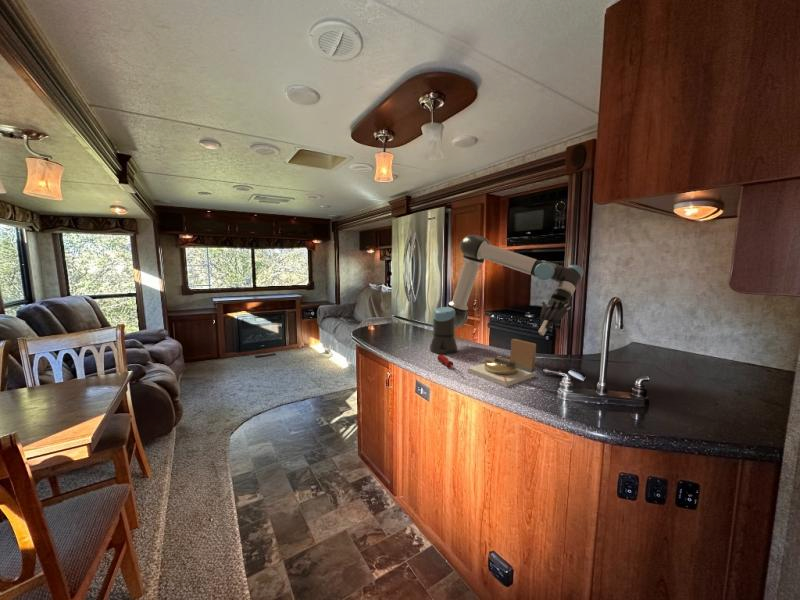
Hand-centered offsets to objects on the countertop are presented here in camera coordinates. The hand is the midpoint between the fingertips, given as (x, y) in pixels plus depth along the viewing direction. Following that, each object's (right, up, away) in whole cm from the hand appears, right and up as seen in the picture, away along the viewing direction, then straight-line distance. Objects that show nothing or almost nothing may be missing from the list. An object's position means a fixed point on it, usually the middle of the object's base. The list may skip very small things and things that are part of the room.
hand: (540, 333), depth 138 cm
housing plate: (-17, -18, 0) cm, 25 cm away
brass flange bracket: (-15, -16, -3) cm, 22 cm away
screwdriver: (-38, -17, +8) cm, 43 cm away
